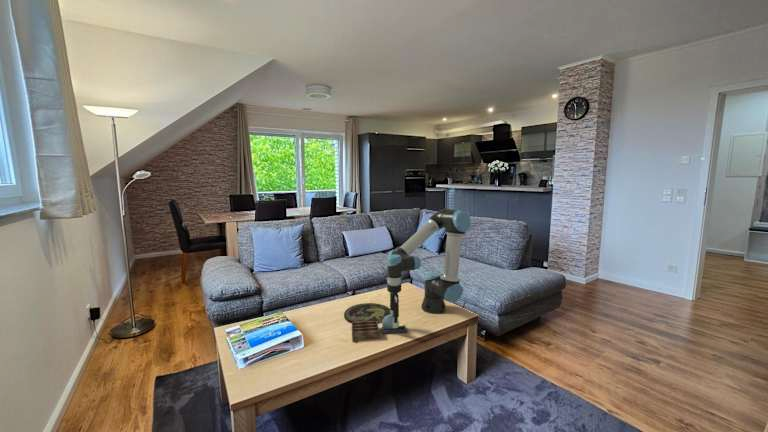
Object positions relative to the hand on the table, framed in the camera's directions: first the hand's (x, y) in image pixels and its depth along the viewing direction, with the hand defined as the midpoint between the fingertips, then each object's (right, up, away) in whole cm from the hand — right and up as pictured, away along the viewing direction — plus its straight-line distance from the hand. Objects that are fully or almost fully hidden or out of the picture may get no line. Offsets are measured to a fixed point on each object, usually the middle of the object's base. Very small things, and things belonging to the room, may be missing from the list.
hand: (394, 324), depth 176 cm
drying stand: (0, -4, +1) cm, 4 cm away
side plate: (0, -3, 0) cm, 3 cm away
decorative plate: (-15, -2, +23) cm, 27 cm away
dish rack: (-16, -5, -2) cm, 17 cm away
